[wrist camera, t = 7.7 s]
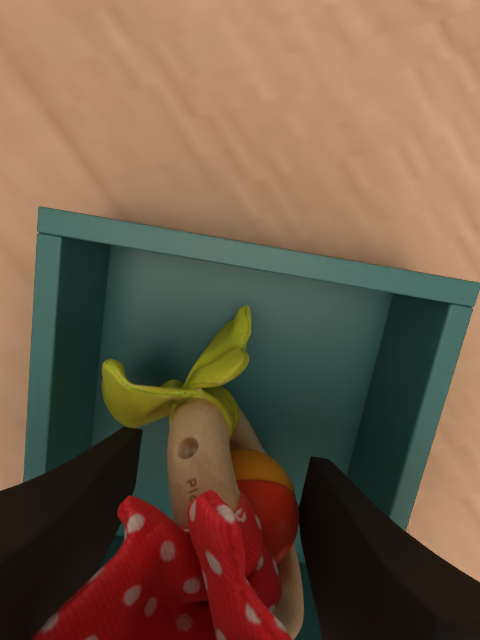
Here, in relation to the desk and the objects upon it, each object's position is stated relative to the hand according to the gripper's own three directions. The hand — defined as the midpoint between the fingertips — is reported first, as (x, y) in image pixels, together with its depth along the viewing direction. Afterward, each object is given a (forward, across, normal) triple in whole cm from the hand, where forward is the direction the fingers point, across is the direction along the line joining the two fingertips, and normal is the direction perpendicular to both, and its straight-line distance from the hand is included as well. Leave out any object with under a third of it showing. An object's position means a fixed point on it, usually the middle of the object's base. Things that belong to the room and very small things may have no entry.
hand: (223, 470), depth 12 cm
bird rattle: (+4, 0, 0) cm, 4 cm away
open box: (+4, 0, 0) cm, 4 cm away
